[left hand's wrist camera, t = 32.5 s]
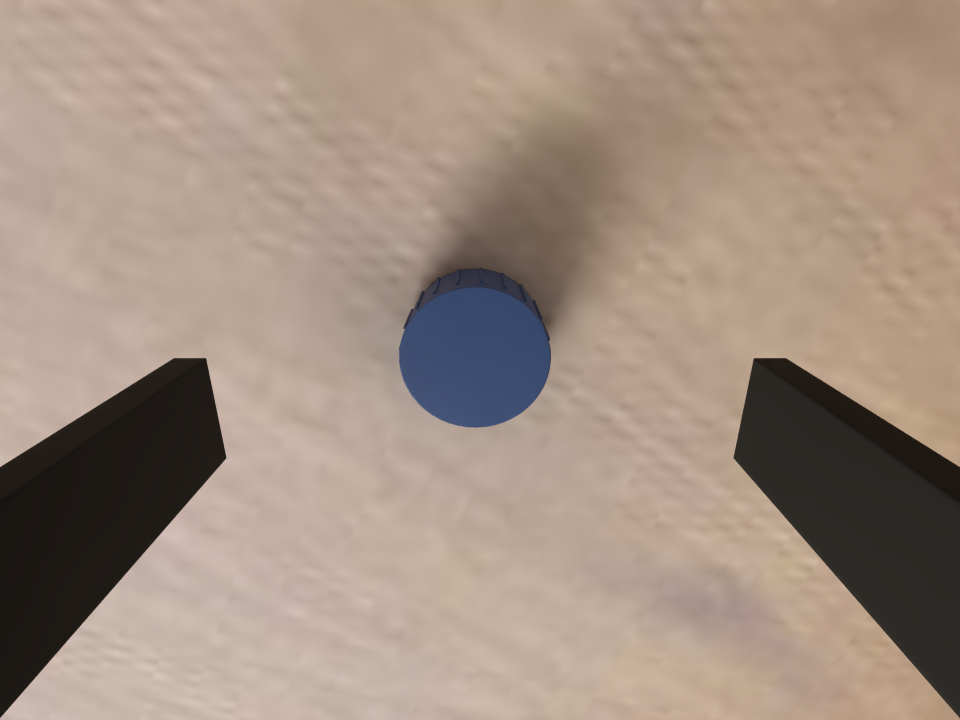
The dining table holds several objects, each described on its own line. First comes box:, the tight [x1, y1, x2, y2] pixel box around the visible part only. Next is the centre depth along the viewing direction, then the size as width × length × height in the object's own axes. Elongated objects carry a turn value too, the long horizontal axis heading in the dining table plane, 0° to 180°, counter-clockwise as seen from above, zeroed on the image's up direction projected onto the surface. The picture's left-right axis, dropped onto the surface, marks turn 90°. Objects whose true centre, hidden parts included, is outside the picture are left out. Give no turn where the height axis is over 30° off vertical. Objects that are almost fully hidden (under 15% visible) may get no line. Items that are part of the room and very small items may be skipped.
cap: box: [399, 268, 551, 427], centre depth 15 cm, size 4×4×2 cm
